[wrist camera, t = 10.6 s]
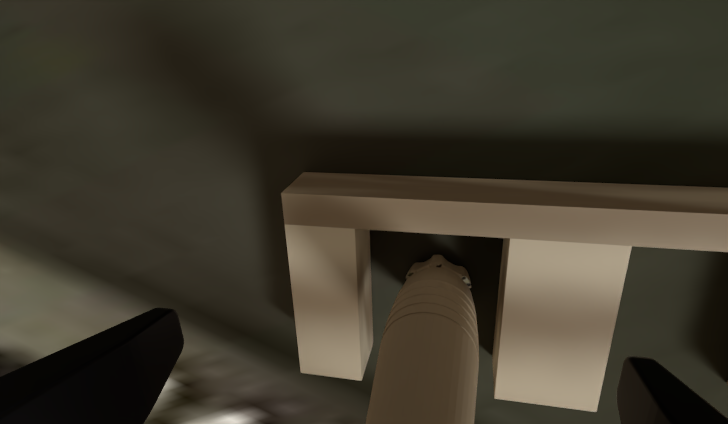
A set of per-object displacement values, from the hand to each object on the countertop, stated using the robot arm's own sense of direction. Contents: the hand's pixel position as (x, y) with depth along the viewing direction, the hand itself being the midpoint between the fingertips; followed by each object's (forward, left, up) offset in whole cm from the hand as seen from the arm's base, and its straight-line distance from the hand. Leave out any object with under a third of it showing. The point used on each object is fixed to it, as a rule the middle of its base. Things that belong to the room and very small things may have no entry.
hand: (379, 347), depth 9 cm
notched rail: (-6, -6, -13) cm, 16 cm away
